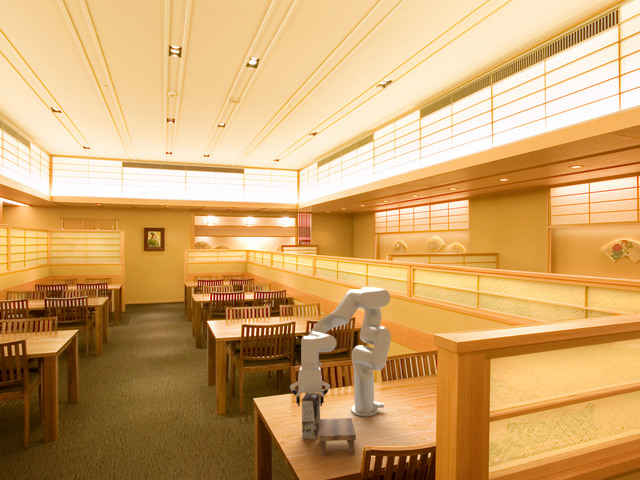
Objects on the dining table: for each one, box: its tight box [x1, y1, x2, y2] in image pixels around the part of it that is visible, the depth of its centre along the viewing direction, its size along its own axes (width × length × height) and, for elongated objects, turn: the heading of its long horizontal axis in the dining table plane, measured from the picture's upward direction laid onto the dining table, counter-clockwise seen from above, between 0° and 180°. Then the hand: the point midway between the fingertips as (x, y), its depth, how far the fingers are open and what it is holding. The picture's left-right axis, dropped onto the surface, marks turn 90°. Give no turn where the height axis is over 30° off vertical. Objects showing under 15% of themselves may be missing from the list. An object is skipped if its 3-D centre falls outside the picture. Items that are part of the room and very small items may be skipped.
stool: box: [318, 417, 357, 457], centre depth 159 cm, size 14×14×8 cm
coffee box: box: [301, 392, 321, 440], centre depth 169 cm, size 9×6×16 cm
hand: (310, 404), depth 169 cm, fingers open, 9 cm apart
